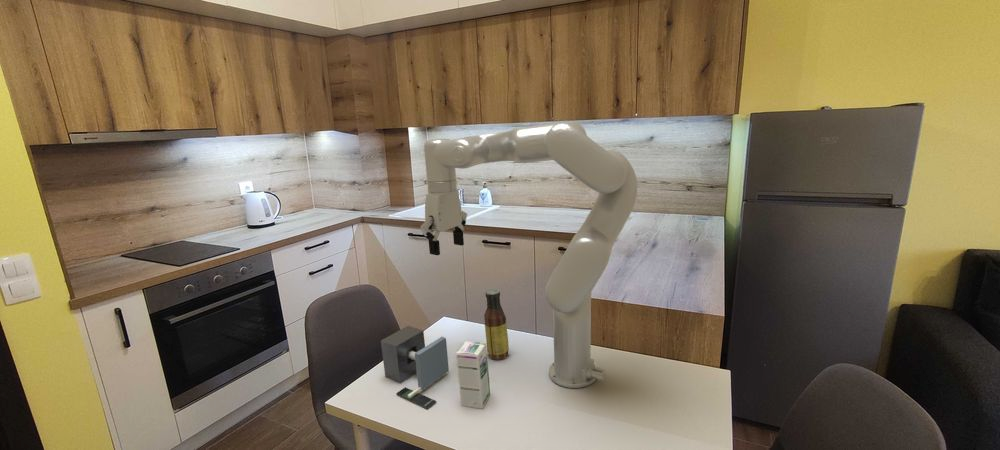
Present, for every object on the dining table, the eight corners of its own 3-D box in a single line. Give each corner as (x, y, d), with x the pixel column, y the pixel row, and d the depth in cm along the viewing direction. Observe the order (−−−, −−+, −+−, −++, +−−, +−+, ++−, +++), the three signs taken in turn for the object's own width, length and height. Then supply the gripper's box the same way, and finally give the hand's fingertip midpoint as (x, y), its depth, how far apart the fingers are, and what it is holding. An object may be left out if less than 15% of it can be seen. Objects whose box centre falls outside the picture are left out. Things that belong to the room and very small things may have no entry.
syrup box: (482, 409, 106) (479, 354, 102) (460, 405, 108) (455, 351, 104) (490, 395, 111) (487, 342, 108) (468, 392, 113) (464, 340, 109)
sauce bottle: (513, 352, 130) (509, 289, 126) (501, 363, 125) (498, 297, 120) (494, 347, 134) (490, 285, 129) (482, 357, 129) (478, 293, 124)
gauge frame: (464, 380, 118) (462, 343, 115) (427, 409, 107) (423, 368, 104) (412, 360, 129) (408, 325, 127) (373, 384, 118) (368, 347, 116)
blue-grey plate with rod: (448, 371, 121) (445, 337, 118) (411, 398, 110) (406, 362, 107) (411, 356, 129) (407, 325, 127) (372, 380, 118) (367, 346, 116)
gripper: (453, 181, 125) (457, 239, 129) (407, 191, 111) (414, 256, 115) (473, 182, 121) (477, 243, 125) (429, 193, 107) (435, 260, 111)
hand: (447, 249), depth 120 cm, fingers open, 9 cm apart
